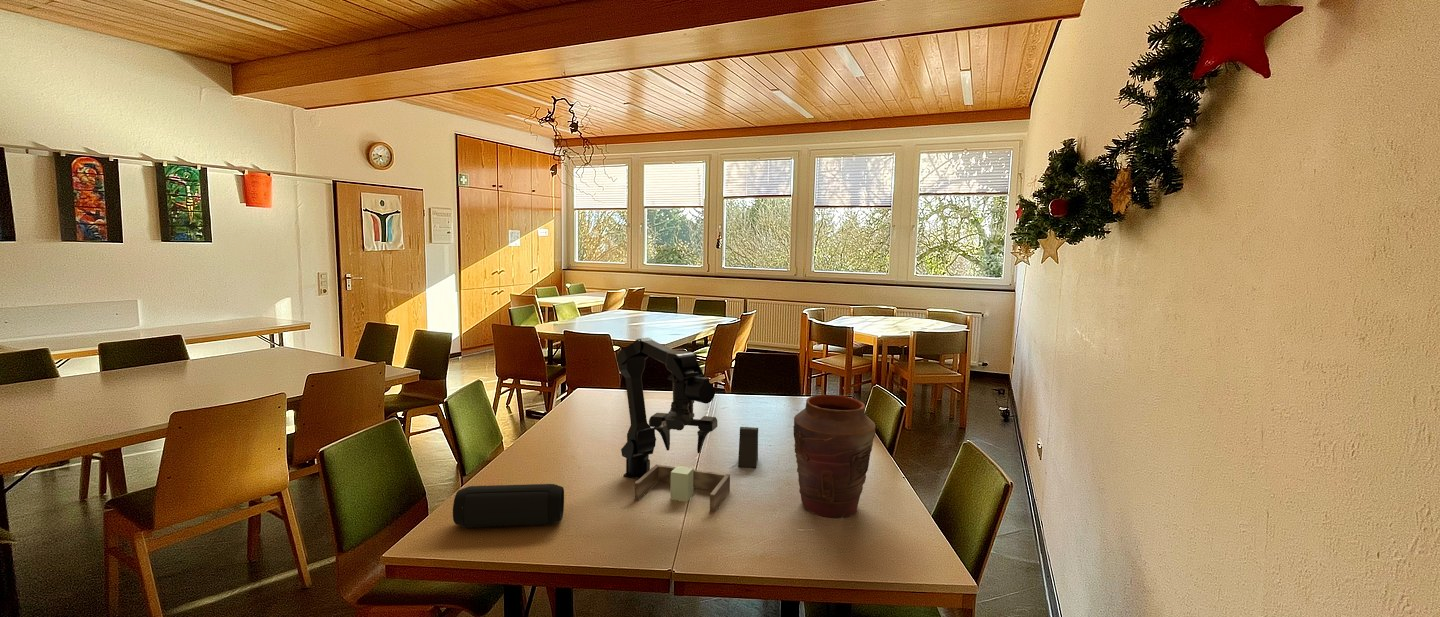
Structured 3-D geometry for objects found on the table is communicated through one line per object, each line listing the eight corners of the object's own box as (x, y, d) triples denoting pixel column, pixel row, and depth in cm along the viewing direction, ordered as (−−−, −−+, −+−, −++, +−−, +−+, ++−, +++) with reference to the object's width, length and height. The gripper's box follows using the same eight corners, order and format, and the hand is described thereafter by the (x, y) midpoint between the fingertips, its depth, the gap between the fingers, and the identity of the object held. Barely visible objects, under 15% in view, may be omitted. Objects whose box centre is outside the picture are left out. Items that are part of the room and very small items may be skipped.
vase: (866, 532, 151) (871, 416, 147) (781, 516, 158) (785, 406, 155) (875, 497, 172) (880, 396, 169) (800, 485, 179) (803, 388, 176)
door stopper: (756, 468, 193) (757, 432, 191) (737, 467, 193) (738, 431, 192) (758, 458, 201) (759, 424, 200) (740, 457, 202) (741, 423, 201)
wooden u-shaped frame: (634, 500, 166) (634, 482, 166) (656, 480, 181) (656, 464, 180) (713, 512, 160) (714, 494, 159) (729, 491, 174) (730, 474, 174)
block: (670, 499, 168) (670, 472, 167) (676, 492, 172) (677, 465, 171) (686, 502, 166) (687, 474, 165) (693, 495, 171) (693, 468, 170)
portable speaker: (564, 513, 157) (564, 477, 156) (559, 531, 148) (559, 492, 147) (464, 517, 154) (463, 480, 153) (451, 535, 144) (450, 496, 143)
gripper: (640, 401, 162) (641, 457, 163) (706, 406, 156) (706, 464, 158) (656, 392, 172) (656, 445, 173) (718, 396, 167) (718, 451, 168)
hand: (683, 451), depth 168 cm, fingers open, 9 cm apart
